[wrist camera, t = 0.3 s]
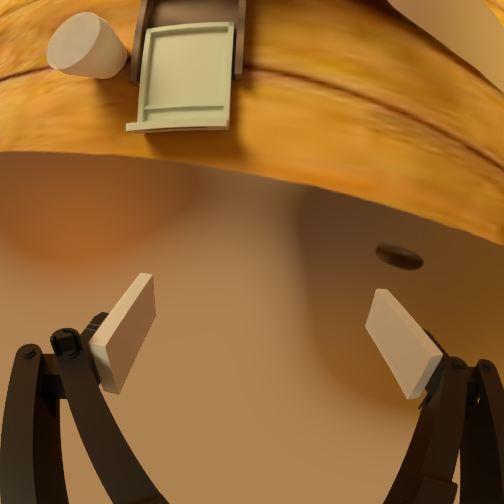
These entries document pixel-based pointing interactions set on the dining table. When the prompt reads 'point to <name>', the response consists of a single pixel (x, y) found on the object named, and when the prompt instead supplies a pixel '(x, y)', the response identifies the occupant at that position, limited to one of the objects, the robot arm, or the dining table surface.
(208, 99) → the tray
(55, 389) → the robot arm
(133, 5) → the dining table surface
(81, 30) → the cup
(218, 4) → the dock
